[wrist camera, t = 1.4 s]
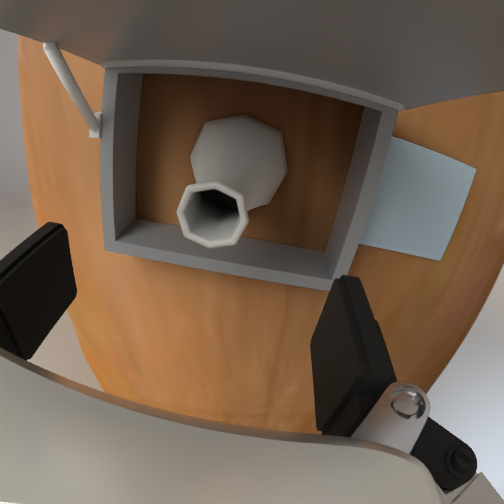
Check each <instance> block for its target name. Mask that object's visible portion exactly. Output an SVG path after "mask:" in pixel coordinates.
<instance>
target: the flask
mask: <svg viewBox="0 0 504 504" xmlns="http://www.w3.org/2000/svg"><path fill="white" fill-rule="evenodd" d="M190 161H191V165H192V169H193V173H194V177H195V181H196V183H195V184H190V185H187V187H186V189H185V192H184V194H183V196H182V199H181V201H180V204H179V206H178V209H177V211H176V212H177V216H178V219H179V222H180V226H181V229H182V232H183V235H184V237H185V238H187V239H189V240H192V241H194V242H196V243H198V244H200V245H202V246H204V247H207V248H209V249H210V248H218V247H226V246H234V245H236V244H237V242H238V240H239V239H240V237H241V235H242V233H243V231H244V230H245V228H246V226H247V224H248V222H249V218H248V213H247V211H249V210H251V209H254V208H256V207H259V206H262V205H266V204H268V203H270V202H271V200H272V198H273V196H274V195H275V193H276V191H277V189H278V188H279V186H280V184H281V182H282V181H283V179H284V177H285V175H286V174H287V172H288V167H287V160H286V154H285V148H284V142H283V136H282V132H280V131H278V130H276V129H274V128H272V127H270V126H268V125H266V124H264V123H262V122H260V121H258V120H256V119H254V118H252V117H250V116H248V115H246V114H243V115H237V116H232V117H227V118H222V119H217V120H212V121H207V122H205V123H204V126H203V128H202V130H201V132H200V134H199V137H198V139H197V141H196V143H195V145H194V148H193V150H192V152H191V155H190Z"/></svg>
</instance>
